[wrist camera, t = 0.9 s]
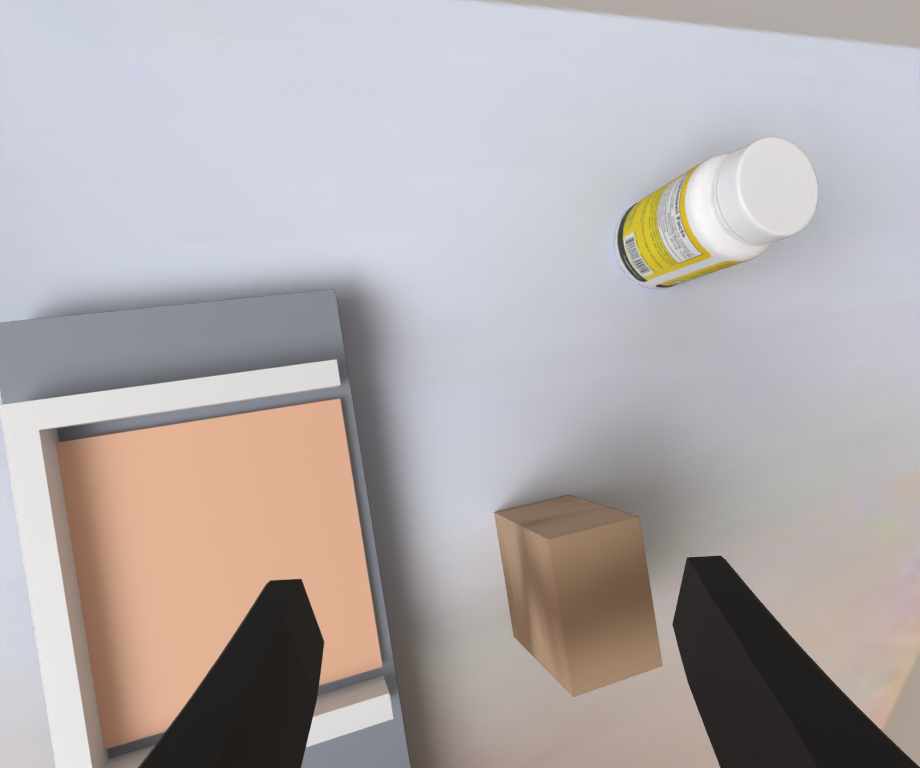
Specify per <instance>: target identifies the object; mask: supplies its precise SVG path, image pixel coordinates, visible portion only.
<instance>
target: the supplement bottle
mask: <svg viewBox="0 0 920 768" xmlns="http://www.w3.org/2000/svg"><path fill="white" fill-rule="evenodd" d="M817 202H818V182H817V178H816V175H815V172H814V169H813V167H812V165H811V163H810V161H809V159H808V158H807V156H806V155H805V154H804V153H803V152H802V151H801V150H800V149H799V148H798V147H797V146H796V145H794V144H793V143H791V142H790V141H788V140H785V139H782V138H778V137H766V138H762V139H759V140H757V141H755V142H753V143H751V144H749V145H747V146H745V147H743V148H741V149H739V150H737V151H735V152H734V153H726V154H720V155H717V156H714V157H712V158H710V159H708V160H706V161H704V162H702V163H701V164H699V165H697V166H696V167H694V168H692V169H691V170H689V171H688V172H686V173H685V174H683V175H681V176H680V177H678V178H677V179H675V180H673V181H672V182H670V183H669V184H667V185H665V186H664V187H662V188H660V189H659V190H657V191H656V192H654V193H652V194H651V195H649V196H648V197H646V198H644V199H643V200H641V201H640V202H638V203H636V204H635V205H633V206H632V207H631V208H629V209H628V210H627V211H626V212H625V213H624V214H623V216H622V217H621V219H620V220H619V222H618V225H617V228H616V232H615V252H616V256H617V259H618V262H619V264H620V266H621V267H622V269H623V271H624V272H625V273H626V274H627V275H628V276H629V277H630V278H631V279H632V280H633V281H635V282H636V283H638V284H640V285H642V286H644V287H648V288H653V289H663V288H668V287H671V286H674V285H677V284H680V283H683V282H686V281H689V280H691V279H694V278H697V277H700V276H703V275H706V274H709V273H712V272H715V271H718V270H721V269H724V268H727V267H730V266H733V265H736V264H739V263H742V262H745V261H748V260H751V259H753V258H755V257H756V256H758V255H760V254H761V253H763V252H764V251H765V250H766V249H767V248H768V247H769V246H770V245H771V244H772V243H773V242H775V241H778V240H781V239H783V238H786V237H788V236H791V235H794V234H796V233H798V232H799V231H801V230H802V229H803V228H804V227H805V226H806V225H807V224H808V223H809V222H810V220H811V219H812V217H813V215H814V213H815V210H816V207H817Z"/></svg>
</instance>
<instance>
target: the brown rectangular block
mask: <svg viewBox="0 0 920 768" xmlns="http://www.w3.org/2000/svg"><path fill="white" fill-rule="evenodd" d="M494 514H495V520H496V526H497V533H498V539H499V545H500V552H501V558H502V564H503V571H504V577H505V583H506V590H507V596H508V602H509V608H510V615H511V621H512V627H513V634H514V637H515V638H516V639H517V640H518V641H519V642H520V643H521V644H522V645H523V646H524V647H525V648H526V649H527V650H528V651H529V652H530V653H531V654H532V655H533V656H534V657H535V658H536V659H537V660H538V661H539V662H540V663H541V664H542V665H543V667H544V668H545V669H546V670H547V671H548V672H549V673H550V674H551V675H552V676H553V677H554V678H555V679H556V680H557V681H558V682H559V683H560V684H561V685H562V686H563V687H564V688H565V689H566V690H567V691H568V692H569V693H570V694H571V695H572V696H573V697H575V696H578V695H580V694H583V693H586V692H589V691H592V690H595V689H598V688H600V687H603V686H606V685H609V684H612V683H615V682H618V681H620V680H623V679H626V678H629V677H632V676H635V675H638V674H641V673H643V672H646V671H649V670H652V669H655V668H658V667H661V666H663V665H662V658H661V652H660V646H659V640H658V633H657V627H656V621H655V614H654V608H653V602H652V595H651V589H650V583H649V576H648V570H647V564H646V557H645V551H644V545H643V538H642V532H641V526H640V519H639V517H638V516H635V515H632V514H629V513H625V512H622V511H619V510H616V509H612V508H609V507H606V506H602V505H599V504H596V503H593V502H589V501H586V500H583V499H580V498H576V497H573V496H570V495H567V496H563V497H559V498H554V499H550V500H546V501H541V502H537V503H533V504H528V505H524V506H520V507H515V508H511V509H507V510H503V511H498V512H494Z"/></svg>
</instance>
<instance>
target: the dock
mask: <svg viewBox="0 0 920 768" xmlns="http://www.w3.org/2000/svg"><path fill="white" fill-rule="evenodd" d="M0 390H1V396H2V403H3V405H0V416H1V423H2V429H3V435H4V442H5V448H6V454H7V461H8V467H9V473H10V480H11V486H12V492H13V499H14V505H15V511H16V518H17V524H18V530H19V537H20V543H21V549H22V556H23V562H24V568H25V575H26V581H27V587H28V594H29V600H30V607H31V613H32V619H33V626H34V632H35V638H36V645H37V651H38V657H39V664H40V670H41V676H42V683H43V689H44V695H45V702H46V708H47V714H48V721H49V727H50V733H51V740H52V746H53V752H54V759H55V765H56V768H138V767H139V765H140V764H141V763H142V762H143V760H144V759H145V758H146V757H147V755H148V754H149V753H150V751H151V750H152V749H153V747H154V746H155V745H156V743H157V742H158V741H159V739H160V738H161V737H162V735H163V734H164V733H165V731H166V730H167V729H168V727H169V726H170V725H171V723H172V722H173V721H174V719H175V718H176V717H177V715H178V714H179V713H180V712H181V710H182V709H183V707H184V706H185V705H186V703H187V702H188V700H189V699H190V698H191V696H192V695H193V693H194V692H195V691H196V689H197V688H198V686H199V685H200V683H201V682H202V680H203V679H204V678H205V676H206V675H207V673H208V672H209V670H210V669H211V668H212V666H213V665H214V663H215V662H216V660H217V659H218V657H219V656H220V654H221V653H222V651H223V650H224V648H225V647H226V645H227V644H228V642H229V641H230V639H231V638H232V636H233V635H234V633H235V632H236V630H237V629H238V627H239V626H240V624H241V623H242V621H243V620H244V618H245V616H246V615H247V613H248V612H249V610H250V609H251V607H252V605H253V604H254V602H255V601H256V599H257V598H258V596H259V594H260V593H261V591H262V590H263V588H264V586H265V585H266V584H267V583H268V582H269V581H270V580H288V579H302V582H303V584H304V587H305V590H306V593H307V595H308V598H309V601H310V604H311V606H312V609H313V612H314V615H315V617H316V620H317V623H318V626H319V628H320V631H321V634H322V637H323V639H324V649H323V658H322V666H321V674H320V681H319V689H318V696H317V701H316V706H315V710H314V715H313V719H312V723H311V728H310V732H309V736H308V740H307V745H306V749H305V753H304V757H303V761H302V765H301V768H410V762H409V755H408V749H407V743H406V736H405V730H404V724H403V717H402V711H401V705H400V698H399V692H398V686H397V679H396V673H395V667H394V661H393V654H392V648H391V642H390V635H389V629H388V623H387V616H386V610H385V604H384V597H383V591H382V585H381V578H380V572H379V566H378V559H377V553H376V547H375V540H374V534H373V528H372V521H371V515H370V509H369V502H368V496H367V490H366V483H365V477H364V471H363V464H362V458H361V452H360V445H359V439H358V433H357V426H356V420H355V414H354V408H353V401H352V395H351V389H350V382H349V376H348V370H347V363H346V357H345V351H344V344H343V338H342V332H341V325H340V319H339V313H338V306H337V300H336V294H335V289H331V290H321V291H311V292H301V293H291V294H281V295H271V296H261V297H251V298H241V299H231V300H221V301H211V302H201V303H191V304H181V305H171V306H161V307H151V308H141V309H131V310H121V311H111V312H101V313H91V314H81V315H71V316H61V317H51V318H41V319H31V320H21V321H11V322H1V323H0Z"/></svg>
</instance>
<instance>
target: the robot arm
mask: <svg viewBox="0 0 920 768" xmlns="http://www.w3.org/2000/svg"><path fill="white" fill-rule="evenodd" d="M673 628H674V632H675V636H676V640H677V643H678V647H679V651H680V655H681V659H682V662H683V666H684V670H685V673H686V677H687V680H688V683H689V686H690V689H691V692H692V694H693V697H694V700H695V702H696V705H697V707H698V710H699V713H700V715H701V718H702V721H703V723H704V726H705V729H706V731H707V734H708V736H709V739H710V742H711V744H712V747H713V749H714V752H715V754H716V757H717V760H718V762H719V765H720V767H721V768H920V767H919V766H918V765H917V764H916V763H915V762H913V761H912V760H911V759H910V758H909V757H908V756H907V755H906V754H905V753H904V752H903V751H902V750H901V749H900V748H899V747H898V746H896V744H895V743H894V742H893V741H892V740H890V739H889V738H888V737H887V736H886V735H885V734H884V733H883V732H882V731H881V730H880V729H879V728H878V727H877V726H876V725H875V724H874V723H873V722H872V721H871V720H870V719H869V718H868V717H867V716H866V715H865V714H864V713H863V712H862V711H861V710H860V709H859V708H858V707H857V706H856V705H855V704H854V703H853V702H852V701H851V700H850V699H849V698H848V697H847V696H846V695H845V694H844V693H843V692H842V690H841V689H840V688H839V687H838V686H837V685H836V684H835V683H834V682H833V681H832V680H831V679H830V678H829V677H828V676H827V675H826V674H825V673H824V671H823V670H822V669H821V668H820V667H819V666H818V665H817V664H816V663H815V662H814V661H813V660H812V659H811V657H810V656H809V655H808V654H807V653H806V652H805V651H804V650H803V649H802V648H801V647H800V646H799V645H798V643H797V642H796V641H795V640H794V639H793V638H792V637H791V636H790V635H789V633H788V632H787V631H786V630H785V629H784V628H783V627H782V626H781V624H780V623H779V622H778V621H777V620H776V619H775V618H774V616H773V615H772V614H771V613H770V612H769V611H768V610H767V608H766V607H765V606H764V605H763V604H762V603H761V601H760V600H759V599H758V598H757V597H756V596H755V594H754V593H753V592H752V591H751V590H750V588H749V587H748V586H747V585H746V584H745V583H744V581H743V580H742V579H741V578H740V577H739V575H738V574H737V573H736V572H735V571H734V569H733V568H732V567H731V566H730V565H729V563H728V562H727V561H726V560H725V559H724V558H723V557H722V556H707V557H689V558H687V560H686V565H685V569H684V574H683V579H682V583H681V588H680V592H679V597H678V602H677V606H676V611H675V615H674V620H673ZM323 649H324V639H323V637H322V634H321V631H320V628H319V626H318V623H317V620H316V617H315V615H314V612H313V609H312V606H311V604H310V601H309V598H308V595H307V593H306V590H305V587H304V584H303V582H302V579H288V580H270V581H269V582H268V583H267V584H266V585H265V586H264V588H263V590H262V591H261V593H260V594H259V596H258V598H257V599H256V601H255V602H254V604H253V605H252V607H251V609H250V610H249V612H248V613H247V615H246V616H245V618H244V620H243V621H242V623H241V624H240V626H239V627H238V629H237V630H236V632H235V633H234V635H233V636H232V638H231V639H230V641H229V642H228V644H227V645H226V647H225V648H224V650H223V651H222V653H221V654H220V656H219V657H218V659H217V660H216V662H215V663H214V665H213V666H212V668H211V669H210V670H209V672H208V673H207V675H206V676H205V678H204V679H203V680H202V682H201V683H200V685H199V686H198V688H197V689H196V691H195V692H194V693H193V695H192V696H191V698H190V699H189V700H188V702H187V703H186V705H185V706H184V707H183V709H182V710H181V712H180V713H179V714H178V715H177V717H176V718H175V719H174V721H173V722H172V723H171V725H170V726H169V727H168V729H167V730H166V731H165V733H164V734H163V735H162V737H161V738H160V739H159V741H158V742H157V743H156V745H155V746H154V747H153V749H152V750H151V751H150V753H149V754H148V755H147V757H146V758H145V759H144V760H143V762H142V763H141V764H140V765H139V767H138V768H301V765H302V761H303V757H304V753H305V749H306V745H307V740H308V736H309V732H310V728H311V723H312V719H313V715H314V710H315V706H316V701H317V696H318V689H319V681H320V674H321V666H322V658H323Z"/></svg>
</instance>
